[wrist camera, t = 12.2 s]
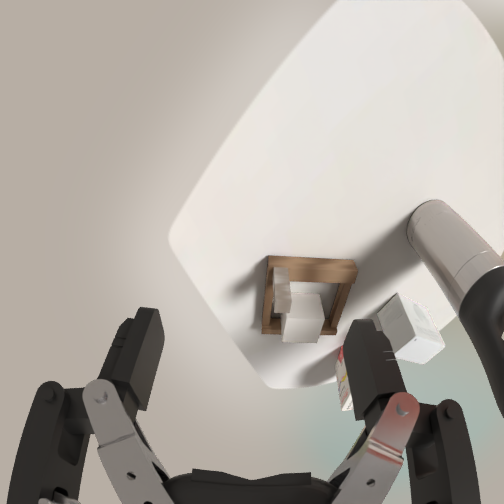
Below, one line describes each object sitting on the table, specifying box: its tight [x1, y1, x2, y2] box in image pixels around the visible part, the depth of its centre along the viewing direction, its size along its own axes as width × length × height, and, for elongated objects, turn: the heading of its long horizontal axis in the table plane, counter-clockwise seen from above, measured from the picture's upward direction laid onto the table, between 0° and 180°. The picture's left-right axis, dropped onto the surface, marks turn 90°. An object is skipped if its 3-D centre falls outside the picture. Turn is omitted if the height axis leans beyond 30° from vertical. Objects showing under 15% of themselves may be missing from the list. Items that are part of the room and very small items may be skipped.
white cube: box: [280, 293, 325, 343], centre depth 47 cm, size 6×6×6 cm
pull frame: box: [262, 256, 358, 335], centre depth 43 cm, size 13×15×10 cm
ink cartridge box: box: [335, 346, 354, 411], centre depth 52 cm, size 9×5×15 cm, turn 3°
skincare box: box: [377, 293, 445, 365], centre depth 46 cm, size 10×6×10 cm, turn 64°
